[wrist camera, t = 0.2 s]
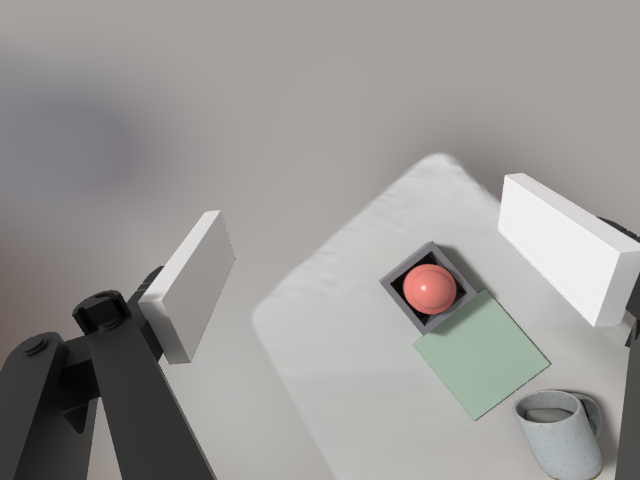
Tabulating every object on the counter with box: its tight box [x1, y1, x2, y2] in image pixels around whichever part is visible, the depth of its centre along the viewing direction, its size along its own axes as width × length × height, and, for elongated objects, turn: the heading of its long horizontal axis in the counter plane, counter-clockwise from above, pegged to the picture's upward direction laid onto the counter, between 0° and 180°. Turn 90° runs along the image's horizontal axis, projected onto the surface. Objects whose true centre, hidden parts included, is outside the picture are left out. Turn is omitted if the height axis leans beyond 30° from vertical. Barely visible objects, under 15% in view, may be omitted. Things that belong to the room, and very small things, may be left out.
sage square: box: [413, 288, 550, 421], centre depth 47 cm, size 13×13×1 cm
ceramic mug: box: [514, 390, 603, 480], centre depth 42 cm, size 11×8×8 cm
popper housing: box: [379, 241, 477, 336], centre depth 47 cm, size 9×9×4 cm
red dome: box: [402, 264, 456, 314], centre depth 44 cm, size 6×6×5 cm
